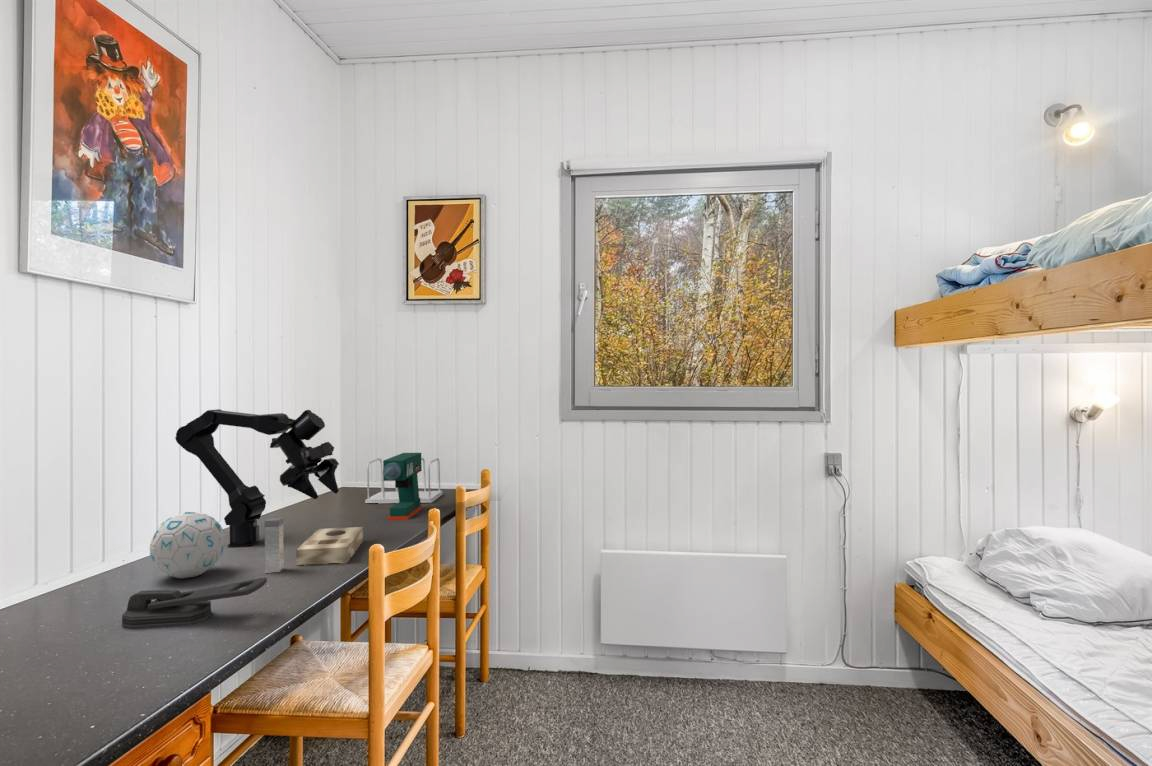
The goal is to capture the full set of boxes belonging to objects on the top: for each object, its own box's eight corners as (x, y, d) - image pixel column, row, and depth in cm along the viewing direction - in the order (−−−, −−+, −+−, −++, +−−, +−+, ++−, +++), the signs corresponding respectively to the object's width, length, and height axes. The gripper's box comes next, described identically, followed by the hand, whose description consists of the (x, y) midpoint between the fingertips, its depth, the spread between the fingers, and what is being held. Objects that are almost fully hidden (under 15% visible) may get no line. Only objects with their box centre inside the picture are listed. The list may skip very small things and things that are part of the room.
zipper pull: (249, 590, 116) (112, 593, 115) (250, 625, 116) (113, 629, 115) (271, 575, 125) (144, 578, 124) (272, 608, 125) (145, 611, 124)
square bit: (265, 573, 148) (264, 521, 148) (269, 569, 151) (269, 518, 151) (279, 572, 148) (278, 520, 148) (283, 568, 151) (283, 517, 151)
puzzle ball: (212, 583, 141) (211, 517, 141) (137, 589, 137) (136, 521, 137) (234, 564, 155) (233, 504, 155) (166, 569, 152) (166, 508, 152)
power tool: (396, 529, 190) (395, 464, 190) (373, 529, 190) (372, 464, 190) (423, 508, 222) (423, 452, 222) (404, 508, 222) (403, 452, 222)
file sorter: (442, 495, 248) (442, 456, 248) (432, 504, 231) (431, 462, 231) (380, 496, 248) (379, 457, 248) (364, 504, 231) (364, 462, 231)
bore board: (296, 565, 153) (296, 548, 153) (318, 543, 175) (318, 528, 175) (347, 563, 155) (346, 546, 155) (363, 540, 177) (362, 526, 177)
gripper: (293, 435, 163) (326, 482, 161) (335, 430, 181) (366, 472, 179) (264, 461, 165) (297, 508, 163) (309, 454, 183) (339, 496, 181)
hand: (327, 495), depth 171 cm, fingers open, 9 cm apart
